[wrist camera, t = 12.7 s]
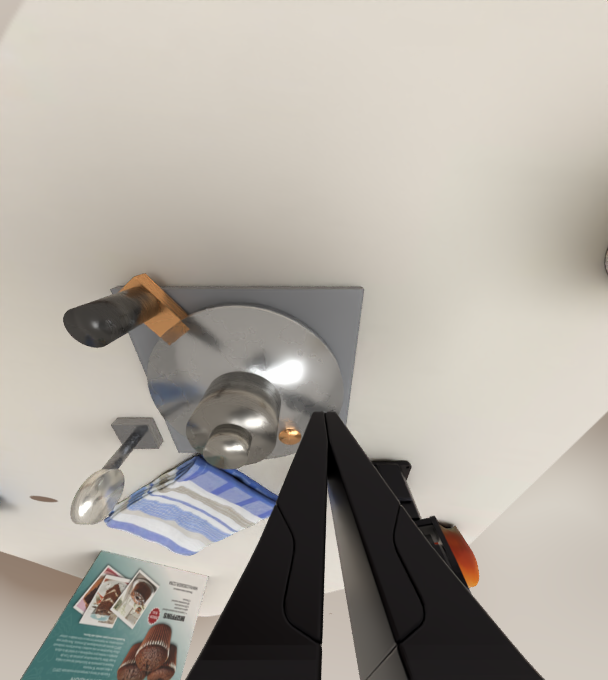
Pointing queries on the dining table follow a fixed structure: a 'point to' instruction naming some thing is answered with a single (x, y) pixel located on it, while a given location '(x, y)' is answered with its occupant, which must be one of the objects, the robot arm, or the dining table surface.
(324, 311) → the plinth
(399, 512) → the robot arm
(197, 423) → the stepped metal cylinder
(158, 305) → the turntable
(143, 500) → the dish towel
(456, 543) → the fruit
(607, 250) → the coffee cup
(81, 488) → the stand
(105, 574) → the cake mix box
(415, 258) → the dining table surface
